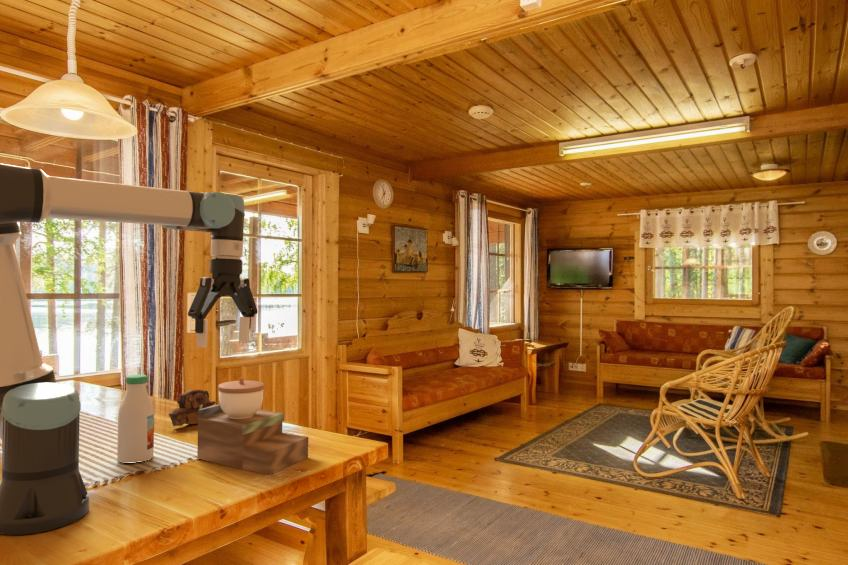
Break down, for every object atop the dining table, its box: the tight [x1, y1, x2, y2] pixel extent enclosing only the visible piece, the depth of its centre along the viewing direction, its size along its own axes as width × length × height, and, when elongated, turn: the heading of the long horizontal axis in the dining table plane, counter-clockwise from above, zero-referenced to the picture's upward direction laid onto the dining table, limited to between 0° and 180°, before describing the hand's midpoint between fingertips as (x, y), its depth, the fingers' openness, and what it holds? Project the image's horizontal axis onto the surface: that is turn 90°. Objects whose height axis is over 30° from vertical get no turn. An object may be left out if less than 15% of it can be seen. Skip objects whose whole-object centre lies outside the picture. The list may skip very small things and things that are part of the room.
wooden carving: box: [168, 389, 216, 427], centre depth 170 cm, size 16×5×10 cm, turn 162°
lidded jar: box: [217, 377, 265, 419], centre depth 141 cm, size 11×11×9 cm
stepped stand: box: [196, 403, 309, 475], centre depth 140 cm, size 14×22×12 cm, turn 65°
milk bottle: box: [116, 374, 155, 462], centre depth 137 cm, size 8×8×20 cm
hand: (223, 344), depth 142 cm, fingers open, 13 cm apart
